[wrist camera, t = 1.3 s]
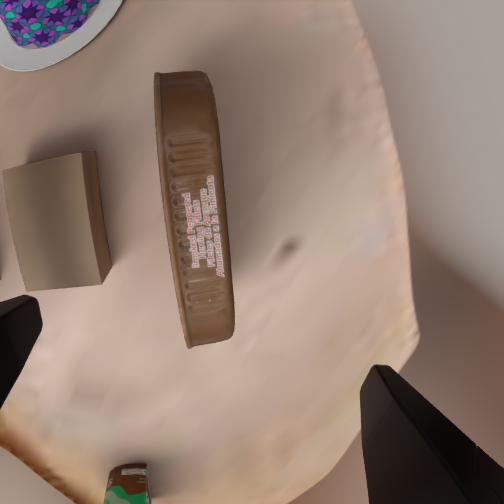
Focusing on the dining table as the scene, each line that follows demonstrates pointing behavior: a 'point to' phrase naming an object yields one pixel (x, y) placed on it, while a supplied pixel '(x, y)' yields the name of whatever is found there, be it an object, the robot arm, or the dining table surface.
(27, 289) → the slotted rail
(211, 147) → the tin
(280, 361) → the dining table surface
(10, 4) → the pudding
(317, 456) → the dining table surface
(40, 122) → the dining table surface
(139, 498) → the food container
